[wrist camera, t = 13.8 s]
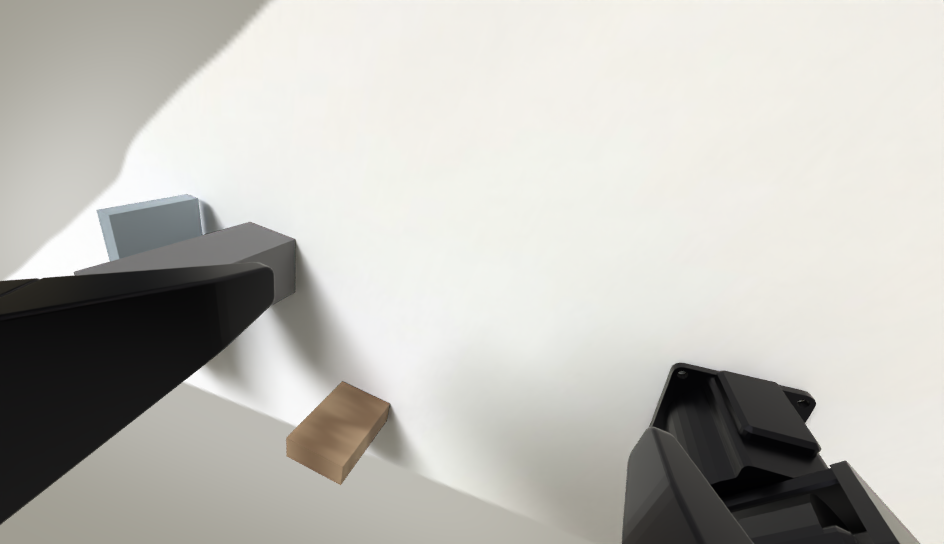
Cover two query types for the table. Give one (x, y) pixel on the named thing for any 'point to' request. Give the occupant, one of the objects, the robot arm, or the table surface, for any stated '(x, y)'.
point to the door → (149, 225)
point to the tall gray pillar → (218, 255)
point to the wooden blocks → (337, 432)
